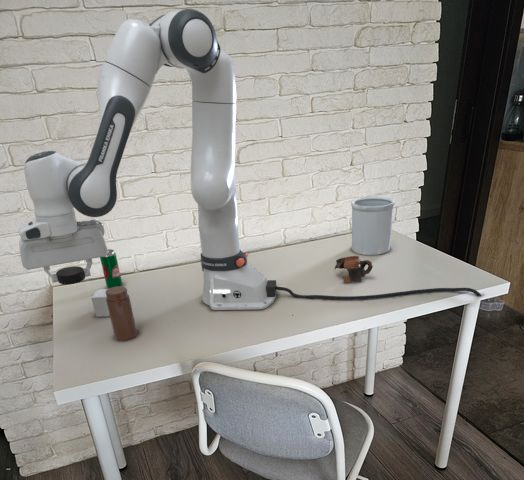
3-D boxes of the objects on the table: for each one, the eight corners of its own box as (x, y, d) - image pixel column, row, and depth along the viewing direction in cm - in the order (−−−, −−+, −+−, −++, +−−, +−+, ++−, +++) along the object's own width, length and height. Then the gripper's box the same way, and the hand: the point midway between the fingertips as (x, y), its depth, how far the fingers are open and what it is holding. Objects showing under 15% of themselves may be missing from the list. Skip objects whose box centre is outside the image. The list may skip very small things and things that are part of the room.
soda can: (118, 289, 155) (110, 254, 149) (104, 289, 156) (95, 253, 150) (125, 283, 159) (117, 248, 153) (111, 283, 160) (103, 248, 154)
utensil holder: (367, 258, 167) (370, 208, 159) (341, 248, 179) (343, 200, 170) (399, 250, 173) (404, 201, 164) (372, 240, 185) (375, 194, 176)
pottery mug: (334, 285, 150) (330, 259, 150) (340, 287, 158) (337, 263, 158) (373, 277, 145) (368, 250, 145) (377, 280, 154) (373, 255, 154)
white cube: (102, 308, 143) (98, 289, 140) (122, 307, 143) (118, 288, 140) (95, 316, 138) (91, 297, 135) (116, 315, 138) (111, 296, 135)
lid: (54, 280, 122) (51, 271, 121) (78, 272, 126) (76, 264, 125) (65, 286, 118) (62, 278, 117) (89, 278, 122) (87, 270, 121)
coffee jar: (141, 331, 128) (131, 286, 122) (130, 341, 123) (120, 295, 117) (121, 329, 130) (111, 285, 123) (110, 340, 125) (99, 294, 118)
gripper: (99, 215, 121) (110, 267, 128) (12, 228, 114) (28, 282, 121) (104, 221, 116) (115, 274, 123) (12, 234, 109) (29, 290, 116)
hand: (71, 278), depth 122 cm, fingers closed on lid, 6 cm apart
